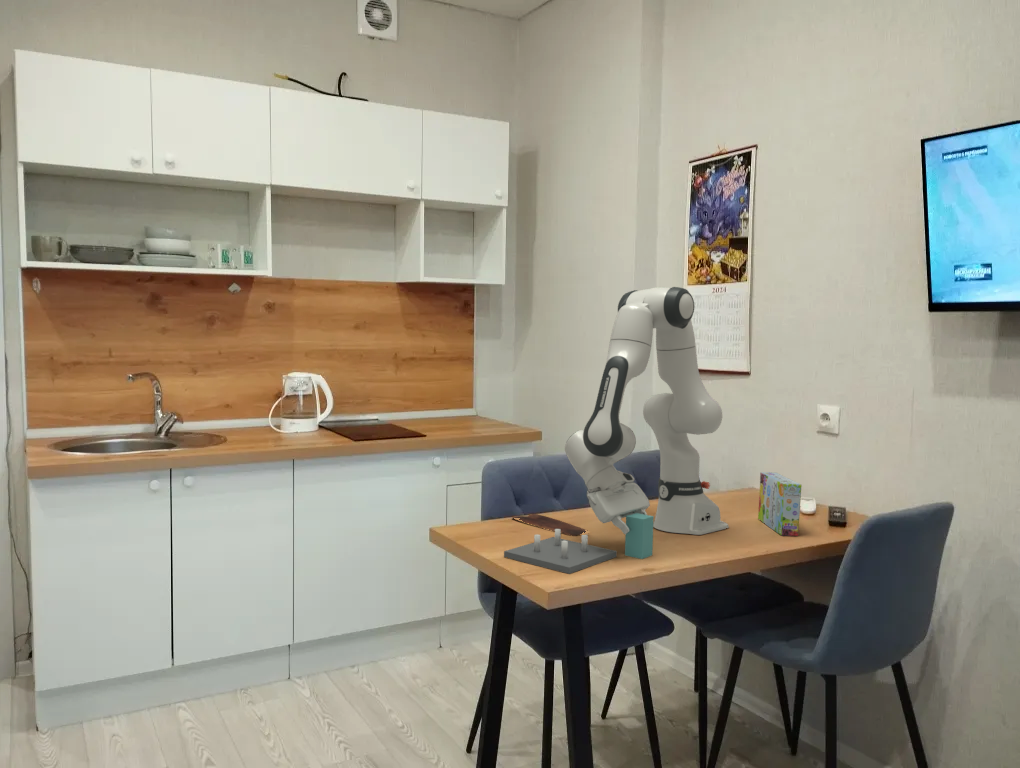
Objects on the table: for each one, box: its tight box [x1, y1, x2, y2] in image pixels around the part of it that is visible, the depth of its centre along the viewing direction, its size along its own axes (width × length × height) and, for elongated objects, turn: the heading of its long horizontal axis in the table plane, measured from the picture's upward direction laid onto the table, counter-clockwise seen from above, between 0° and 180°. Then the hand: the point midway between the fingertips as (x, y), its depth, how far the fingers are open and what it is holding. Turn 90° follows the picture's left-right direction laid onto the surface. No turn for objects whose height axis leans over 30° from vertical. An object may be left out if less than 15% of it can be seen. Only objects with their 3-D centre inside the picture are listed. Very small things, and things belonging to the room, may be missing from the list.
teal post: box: [624, 513, 655, 560], centre depth 199 cm, size 5×5×10 cm
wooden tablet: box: [512, 513, 586, 537], centre depth 229 cm, size 26×2×10 cm
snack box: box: [757, 471, 802, 537], centre depth 232 cm, size 21×6×15 cm, turn 0°
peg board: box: [503, 529, 618, 575], centre depth 196 cm, size 20×20×6 cm
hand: (638, 529), depth 199 cm, fingers open, 8 cm apart
